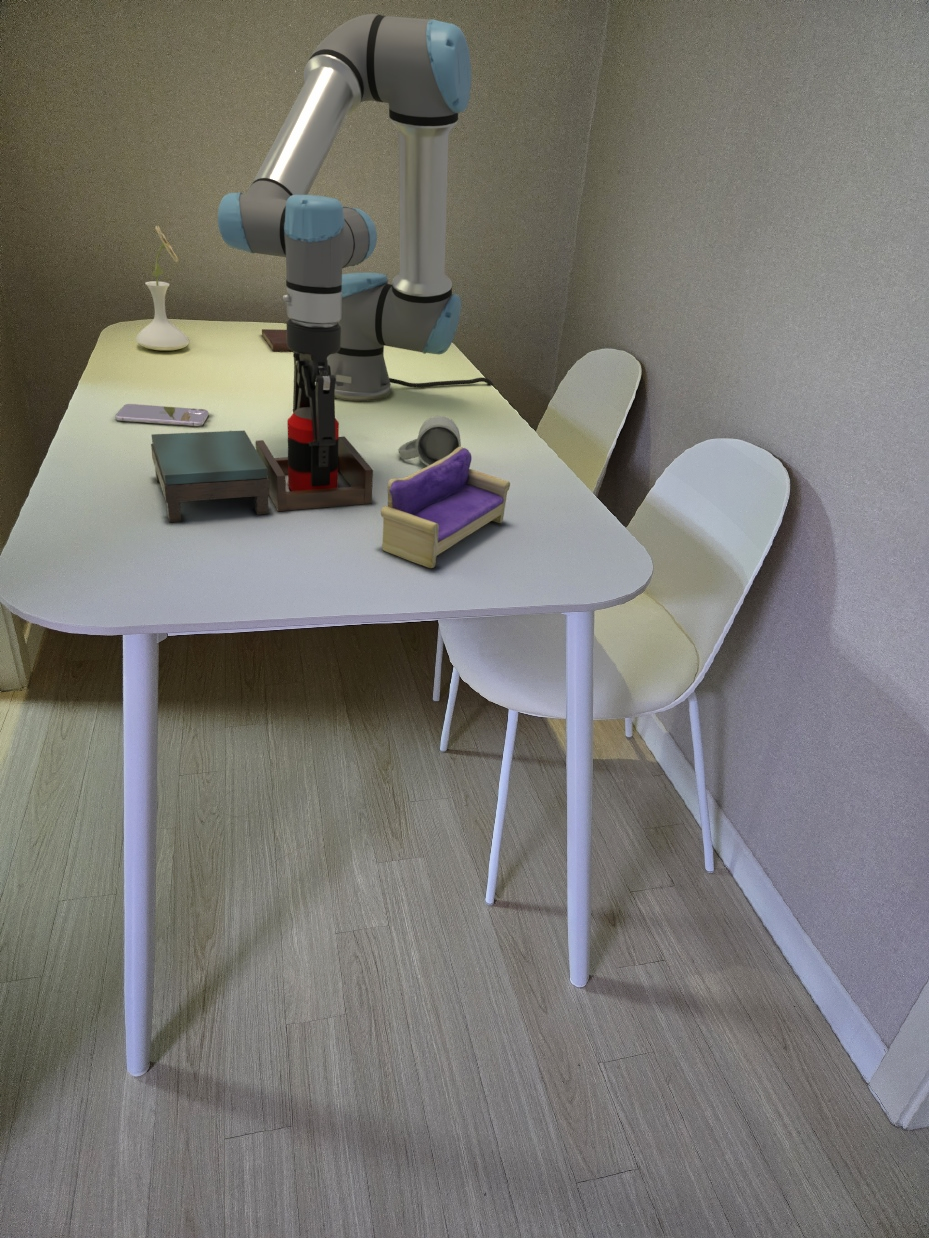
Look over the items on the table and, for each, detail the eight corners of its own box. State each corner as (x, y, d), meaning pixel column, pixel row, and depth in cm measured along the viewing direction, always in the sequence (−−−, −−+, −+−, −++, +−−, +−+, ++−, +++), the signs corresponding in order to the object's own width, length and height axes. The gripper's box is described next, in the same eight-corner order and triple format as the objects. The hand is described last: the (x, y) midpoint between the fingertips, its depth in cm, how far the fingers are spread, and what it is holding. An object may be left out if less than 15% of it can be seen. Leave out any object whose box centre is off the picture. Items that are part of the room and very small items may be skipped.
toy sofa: (429, 572, 105) (436, 501, 100) (377, 551, 109) (381, 481, 103) (506, 523, 121) (515, 459, 115) (458, 505, 124) (465, 443, 119)
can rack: (343, 467, 132) (344, 436, 129) (371, 503, 122) (373, 469, 119) (256, 473, 127) (255, 440, 124) (277, 511, 116) (277, 476, 113)
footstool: (247, 472, 127) (245, 429, 123) (270, 514, 115) (269, 469, 111) (154, 478, 121) (149, 433, 117) (168, 523, 109) (163, 475, 105)
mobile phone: (124, 402, 145) (209, 408, 147) (125, 407, 145) (209, 413, 147) (113, 415, 138) (202, 421, 140) (113, 421, 139) (202, 427, 141)
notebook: (261, 335, 199) (261, 327, 198) (338, 336, 206) (338, 328, 205) (273, 351, 188) (272, 343, 187) (354, 352, 195) (354, 343, 194)
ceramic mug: (458, 453, 143) (461, 412, 139) (458, 470, 136) (462, 427, 132) (399, 449, 143) (401, 407, 139) (397, 466, 136) (399, 422, 132)
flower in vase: (180, 357, 176) (170, 233, 163) (128, 351, 175) (114, 226, 162) (198, 343, 187) (190, 226, 174) (149, 337, 187) (137, 220, 173)
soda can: (328, 501, 121) (329, 425, 114) (281, 493, 121) (279, 416, 115) (343, 483, 127) (345, 409, 121) (298, 475, 128) (297, 402, 121)
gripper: (270, 303, 117) (273, 451, 129) (306, 339, 102) (306, 503, 114) (320, 304, 120) (318, 449, 132) (362, 340, 105) (356, 499, 117)
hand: (313, 474), depth 123 cm, fingers closed on soda can, 8 cm apart
